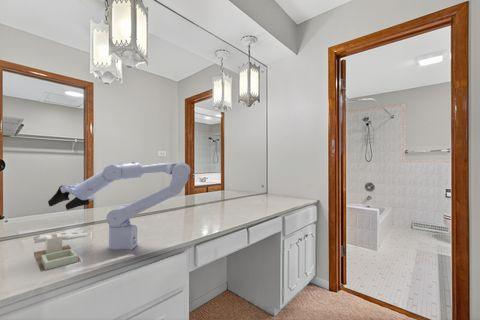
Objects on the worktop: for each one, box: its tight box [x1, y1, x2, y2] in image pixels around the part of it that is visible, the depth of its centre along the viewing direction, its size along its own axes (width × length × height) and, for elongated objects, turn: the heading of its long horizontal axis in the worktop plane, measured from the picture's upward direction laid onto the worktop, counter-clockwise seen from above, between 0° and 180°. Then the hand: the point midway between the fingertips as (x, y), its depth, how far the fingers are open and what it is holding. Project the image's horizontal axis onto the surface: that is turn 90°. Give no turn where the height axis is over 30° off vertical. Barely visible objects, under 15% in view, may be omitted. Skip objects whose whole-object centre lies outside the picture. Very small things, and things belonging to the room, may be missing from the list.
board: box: [33, 244, 82, 273], centre depth 77 cm, size 20×10×1 cm, turn 47°
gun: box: [33, 229, 91, 244], centre depth 97 cm, size 18×3×10 cm
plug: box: [45, 232, 63, 254], centre depth 81 cm, size 4×4×6 cm
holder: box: [41, 248, 79, 271], centre depth 73 cm, size 8×8×2 cm
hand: (58, 205), depth 85 cm, fingers open, 7 cm apart
